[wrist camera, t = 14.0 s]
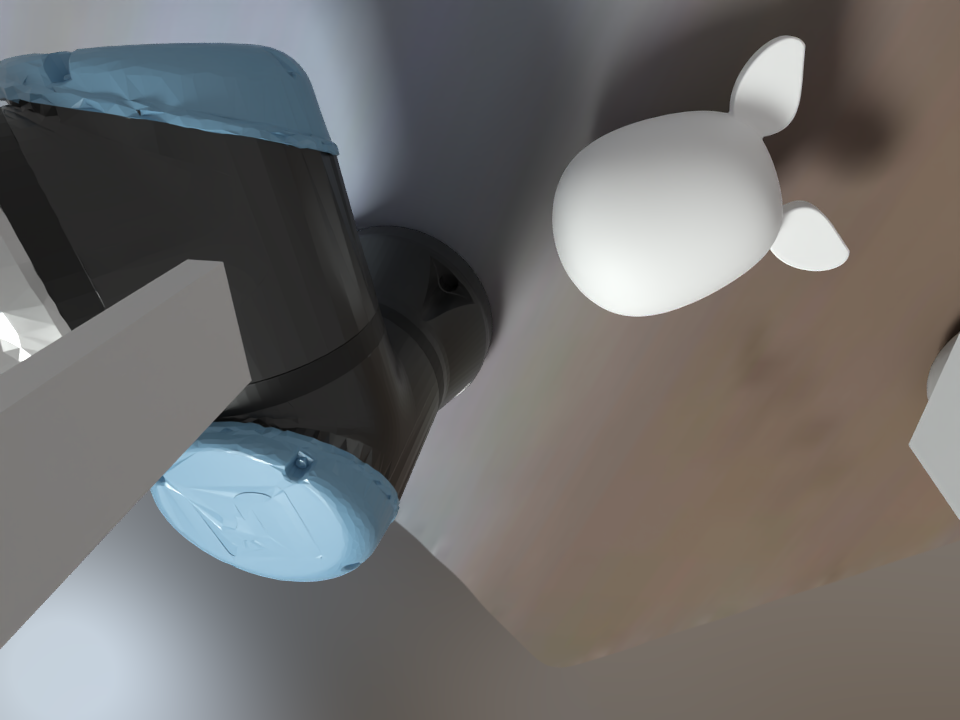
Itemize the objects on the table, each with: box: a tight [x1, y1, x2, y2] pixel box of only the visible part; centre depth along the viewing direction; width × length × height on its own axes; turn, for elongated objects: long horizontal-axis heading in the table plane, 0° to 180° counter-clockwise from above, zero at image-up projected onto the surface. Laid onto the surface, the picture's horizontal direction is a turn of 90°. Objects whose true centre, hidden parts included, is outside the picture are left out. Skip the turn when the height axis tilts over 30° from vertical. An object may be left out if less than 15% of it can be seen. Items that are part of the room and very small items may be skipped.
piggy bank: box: [552, 35, 850, 316], centre depth 35 cm, size 12×12×15 cm
